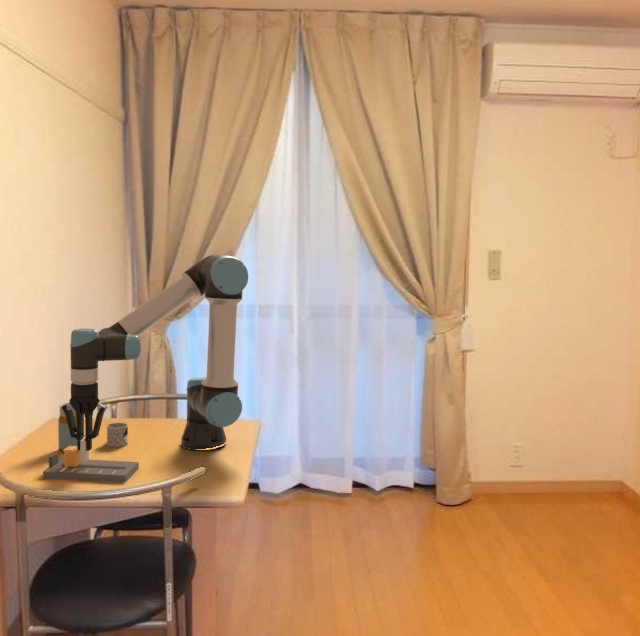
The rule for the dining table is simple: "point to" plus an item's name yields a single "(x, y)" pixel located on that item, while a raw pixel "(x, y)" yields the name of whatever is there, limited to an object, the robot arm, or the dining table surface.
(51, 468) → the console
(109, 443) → the mug
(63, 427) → the bottle
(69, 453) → the fader
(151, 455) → the dining table surface
